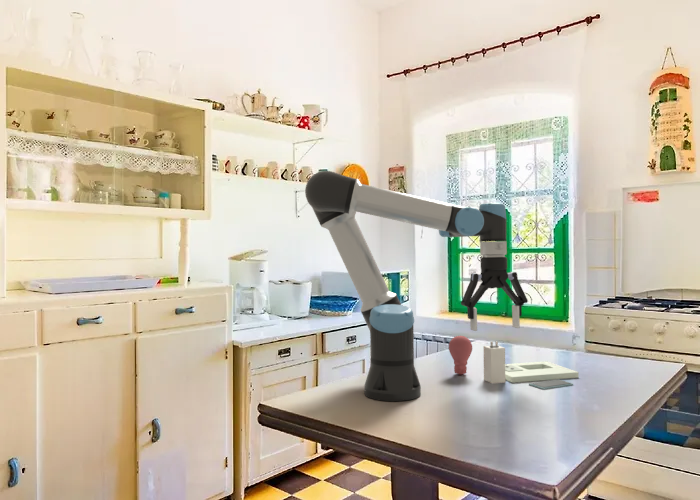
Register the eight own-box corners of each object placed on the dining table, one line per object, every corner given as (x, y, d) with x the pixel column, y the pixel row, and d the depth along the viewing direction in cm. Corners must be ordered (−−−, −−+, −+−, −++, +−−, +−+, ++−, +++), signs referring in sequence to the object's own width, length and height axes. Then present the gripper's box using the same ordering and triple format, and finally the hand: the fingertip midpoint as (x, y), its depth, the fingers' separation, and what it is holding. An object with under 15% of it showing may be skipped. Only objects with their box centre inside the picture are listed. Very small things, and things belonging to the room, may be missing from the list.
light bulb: (466, 378, 164) (466, 338, 164) (444, 375, 168) (444, 336, 168) (476, 374, 170) (476, 335, 170) (455, 371, 174) (455, 333, 174)
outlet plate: (512, 382, 159) (512, 375, 159) (485, 370, 174) (485, 364, 174) (578, 377, 164) (578, 370, 164) (547, 366, 180) (546, 360, 180)
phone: (543, 391, 151) (543, 387, 151) (528, 387, 156) (528, 383, 156) (573, 387, 155) (573, 383, 155) (558, 382, 160) (558, 378, 160)
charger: (491, 383, 158) (490, 343, 158) (483, 379, 162) (483, 340, 162) (505, 382, 159) (505, 342, 159) (497, 378, 163) (497, 339, 163)
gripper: (459, 257, 154) (461, 333, 154) (538, 255, 160) (540, 328, 160) (448, 257, 161) (450, 329, 161) (524, 255, 167) (526, 324, 167)
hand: (495, 329), depth 161 cm, fingers open, 13 cm apart
